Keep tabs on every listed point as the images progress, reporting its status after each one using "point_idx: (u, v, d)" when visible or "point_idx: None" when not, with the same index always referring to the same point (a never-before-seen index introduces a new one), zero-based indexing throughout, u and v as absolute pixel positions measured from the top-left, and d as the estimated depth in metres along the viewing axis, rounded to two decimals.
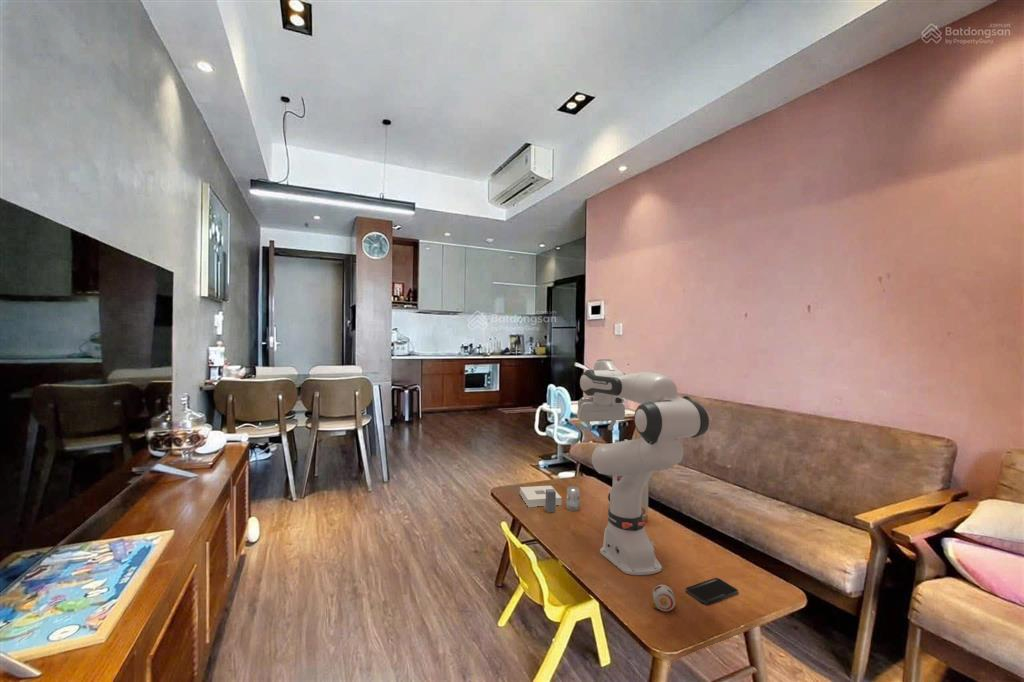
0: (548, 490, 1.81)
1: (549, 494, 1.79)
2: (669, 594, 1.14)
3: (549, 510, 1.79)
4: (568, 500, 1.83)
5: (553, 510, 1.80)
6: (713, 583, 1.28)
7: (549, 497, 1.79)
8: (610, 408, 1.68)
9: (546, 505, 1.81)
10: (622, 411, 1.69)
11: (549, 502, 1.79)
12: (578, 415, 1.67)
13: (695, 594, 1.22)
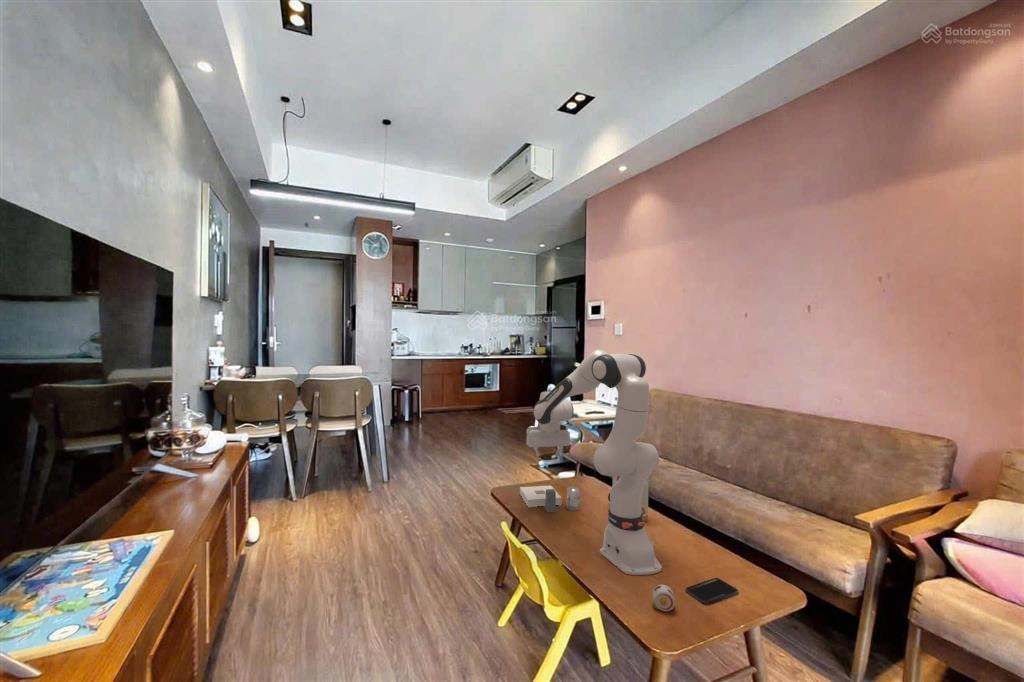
0: (548, 490, 1.81)
1: (549, 494, 1.79)
2: (669, 594, 1.14)
3: (549, 510, 1.79)
4: (568, 500, 1.83)
5: (553, 510, 1.80)
6: (713, 583, 1.28)
7: (549, 497, 1.79)
8: (556, 435, 1.85)
9: (546, 505, 1.81)
10: (567, 438, 1.86)
11: (549, 502, 1.79)
12: (527, 442, 1.83)
13: (695, 594, 1.22)
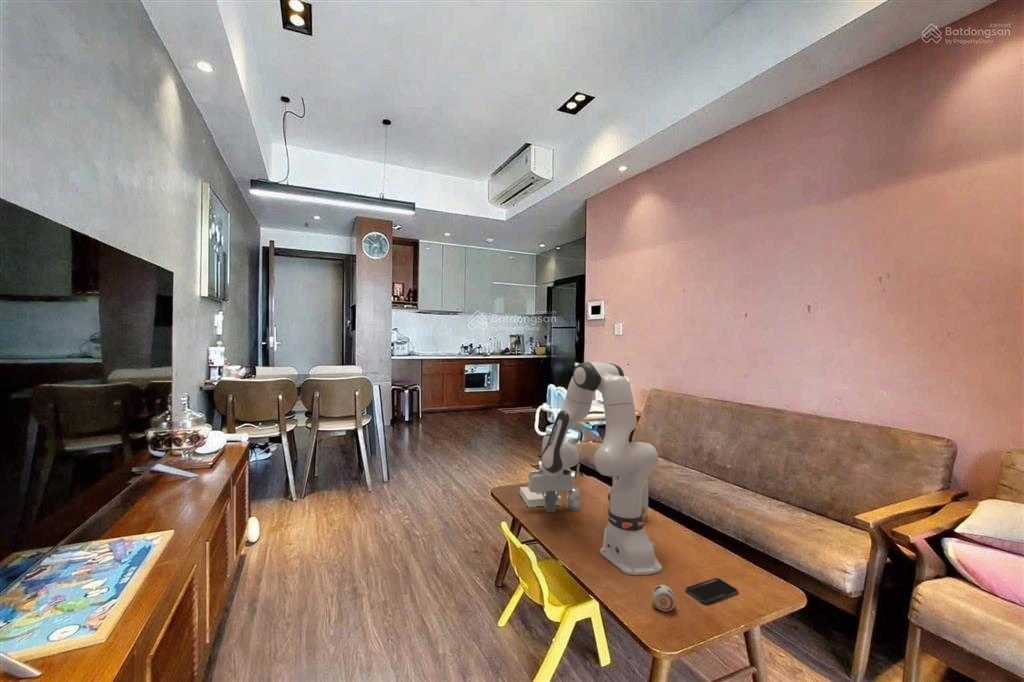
0: None
1: (549, 494, 1.79)
2: (669, 594, 1.14)
3: (549, 510, 1.79)
4: (568, 500, 1.83)
5: (553, 510, 1.80)
6: (713, 583, 1.28)
7: (549, 497, 1.79)
8: (559, 479, 1.80)
9: (546, 505, 1.81)
10: (570, 482, 1.81)
11: (549, 502, 1.79)
12: (529, 487, 1.79)
13: (695, 594, 1.22)
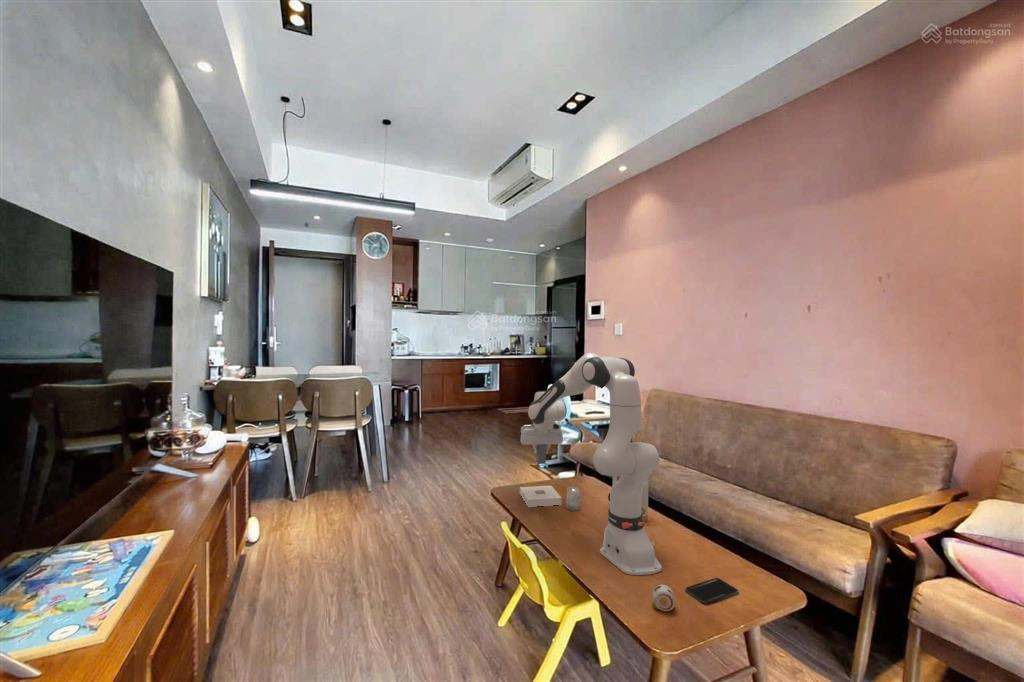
0: None
1: (540, 447, 1.91)
2: (669, 594, 1.14)
3: (540, 462, 1.91)
4: (568, 500, 1.83)
5: (543, 462, 1.92)
6: (713, 583, 1.28)
7: (540, 449, 1.91)
8: (549, 433, 1.92)
9: (537, 457, 1.93)
10: (560, 436, 1.93)
11: (540, 454, 1.91)
12: (521, 440, 1.91)
13: (695, 594, 1.22)
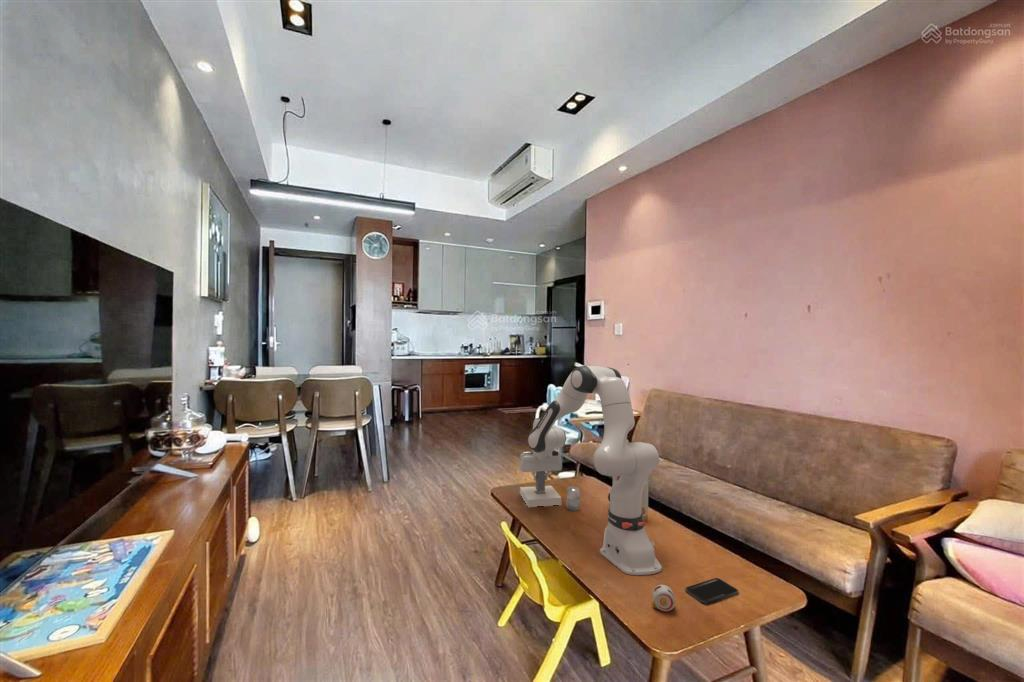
0: None
1: (539, 474, 1.92)
2: (669, 594, 1.14)
3: (539, 489, 1.92)
4: (568, 500, 1.83)
5: (543, 489, 1.92)
6: (713, 583, 1.28)
7: (539, 476, 1.92)
8: (548, 460, 1.93)
9: (536, 484, 1.94)
10: (559, 463, 1.93)
11: (539, 481, 1.92)
12: (520, 467, 1.91)
13: (695, 594, 1.22)
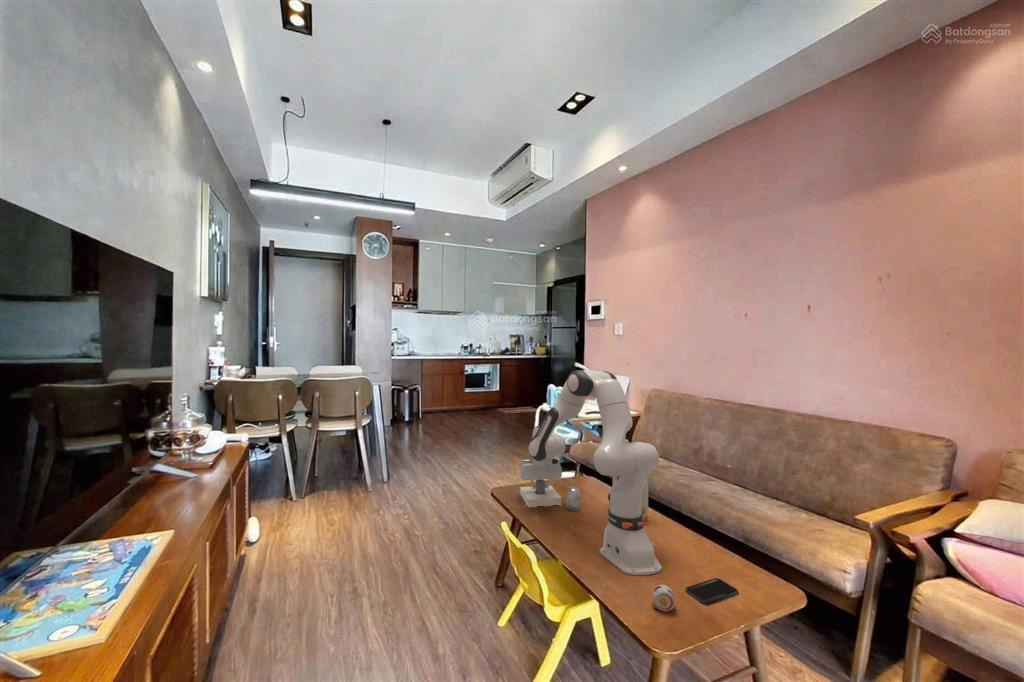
0: (538, 480, 1.94)
1: (539, 484, 1.92)
2: (669, 594, 1.14)
3: None
4: (568, 500, 1.83)
5: None
6: (713, 583, 1.28)
7: (539, 487, 1.92)
8: (548, 468, 1.93)
9: None
10: (559, 471, 1.93)
11: (539, 491, 1.92)
12: (520, 475, 1.91)
13: (695, 594, 1.22)
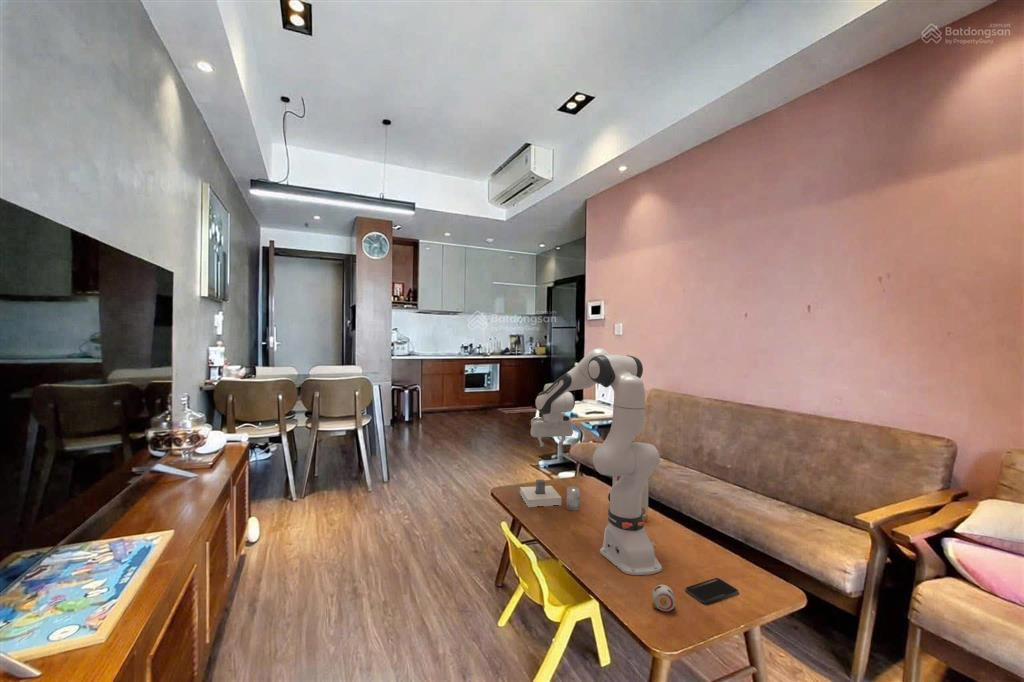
0: (538, 480, 1.94)
1: (539, 484, 1.92)
2: (669, 594, 1.14)
3: None
4: (568, 500, 1.83)
5: None
6: (713, 583, 1.28)
7: (539, 487, 1.92)
8: (559, 426, 1.92)
9: None
10: (570, 428, 1.93)
11: (539, 491, 1.92)
12: (531, 432, 1.90)
13: (695, 594, 1.22)
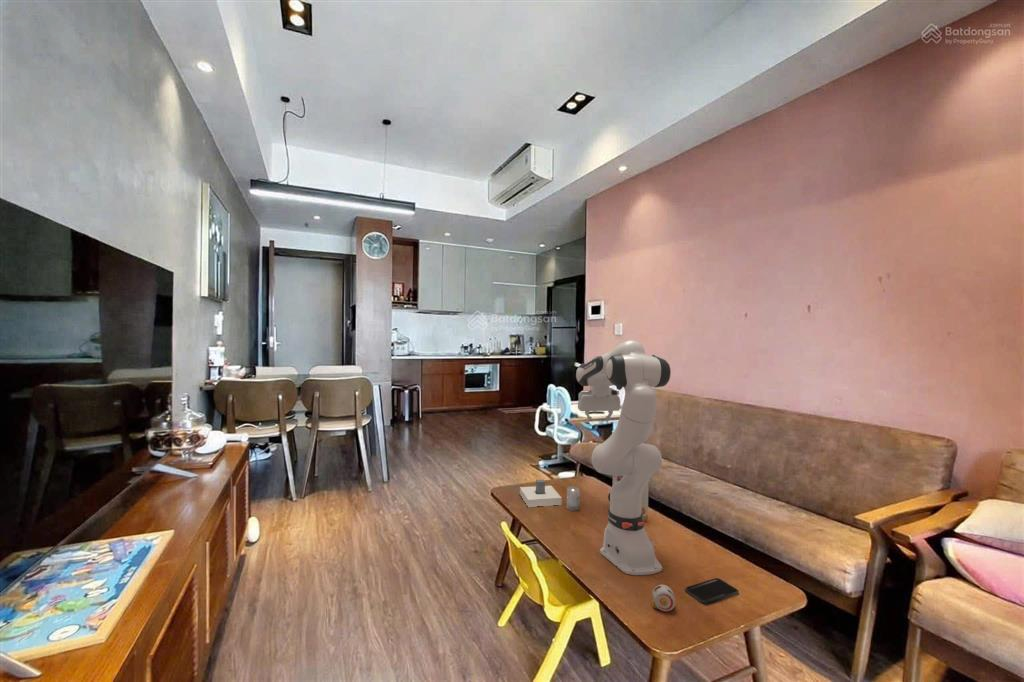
0: (538, 480, 1.94)
1: (539, 484, 1.92)
2: (669, 594, 1.14)
3: None
4: (568, 500, 1.83)
5: None
6: (713, 583, 1.28)
7: (539, 487, 1.92)
8: (607, 400, 1.89)
9: None
10: (618, 403, 1.90)
11: (539, 491, 1.92)
12: (579, 406, 1.88)
13: (695, 594, 1.22)
